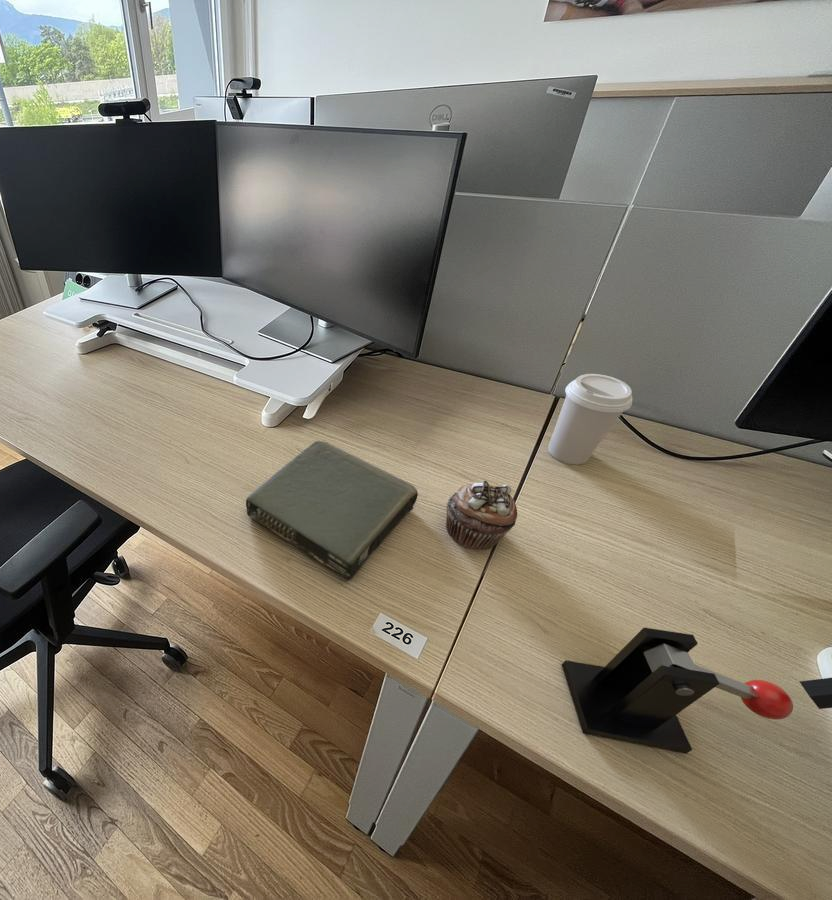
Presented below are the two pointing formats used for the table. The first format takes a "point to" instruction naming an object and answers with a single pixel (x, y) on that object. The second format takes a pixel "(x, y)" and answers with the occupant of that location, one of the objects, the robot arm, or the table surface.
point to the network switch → (332, 506)
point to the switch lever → (729, 683)
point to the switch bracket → (638, 693)
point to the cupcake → (480, 515)
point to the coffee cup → (588, 416)
